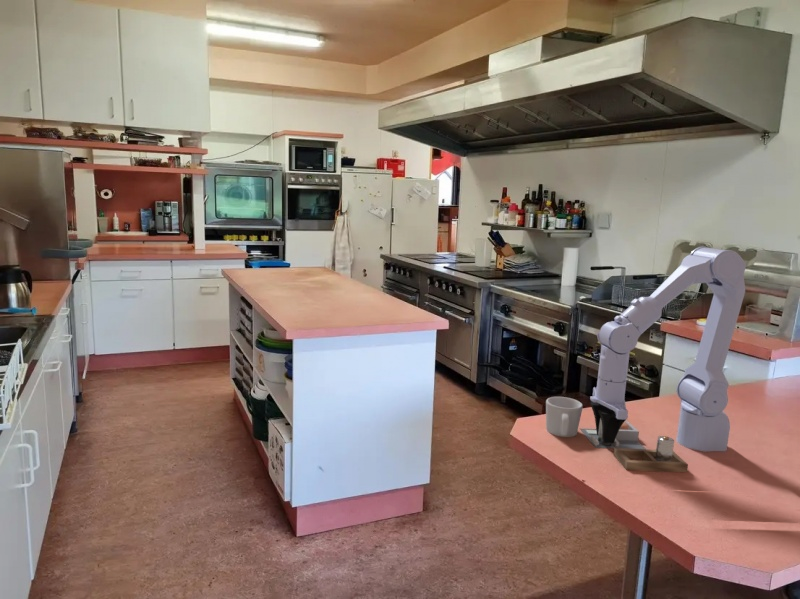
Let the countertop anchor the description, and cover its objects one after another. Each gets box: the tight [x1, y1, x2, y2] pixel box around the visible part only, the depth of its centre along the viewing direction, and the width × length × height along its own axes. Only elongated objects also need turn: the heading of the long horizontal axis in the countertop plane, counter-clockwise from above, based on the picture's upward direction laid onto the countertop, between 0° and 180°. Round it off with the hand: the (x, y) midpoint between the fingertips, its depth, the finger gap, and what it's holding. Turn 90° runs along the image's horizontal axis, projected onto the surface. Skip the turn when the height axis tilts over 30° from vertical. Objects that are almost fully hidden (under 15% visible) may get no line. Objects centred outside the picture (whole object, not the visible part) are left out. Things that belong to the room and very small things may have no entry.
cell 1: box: [598, 417, 612, 446], centre depth 124 cm, size 3×3×6 cm
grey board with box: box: [578, 420, 647, 450], centre depth 127 cm, size 11×10×3 cm
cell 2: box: [655, 435, 675, 462], centre depth 115 cm, size 3×3×6 cm
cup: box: [545, 396, 584, 438], centre depth 128 cm, size 11×8×8 cm
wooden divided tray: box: [613, 448, 689, 473], centre depth 115 cm, size 12×6×3 cm, turn 91°
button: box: [620, 422, 629, 430], centre depth 129 cm, size 4×4×2 cm
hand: (605, 438), depth 125 cm, fingers closed on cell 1, 3 cm apart
